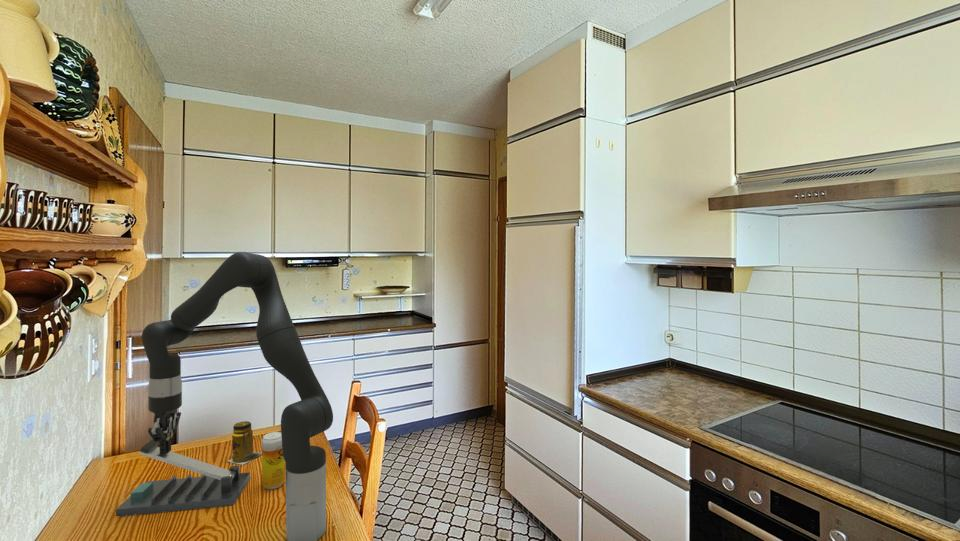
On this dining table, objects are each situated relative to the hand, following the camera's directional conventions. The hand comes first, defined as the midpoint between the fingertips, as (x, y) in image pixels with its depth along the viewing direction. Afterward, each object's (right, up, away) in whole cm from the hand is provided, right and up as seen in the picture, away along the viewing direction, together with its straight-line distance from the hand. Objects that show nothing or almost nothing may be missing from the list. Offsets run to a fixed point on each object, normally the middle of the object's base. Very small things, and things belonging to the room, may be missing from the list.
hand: (165, 452), depth 119 cm
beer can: (+27, -13, +8) cm, 31 cm away
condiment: (+9, -13, +25) cm, 29 cm away
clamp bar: (+6, -4, +1) cm, 7 cm away
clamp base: (+5, -13, +1) cm, 14 cm away
